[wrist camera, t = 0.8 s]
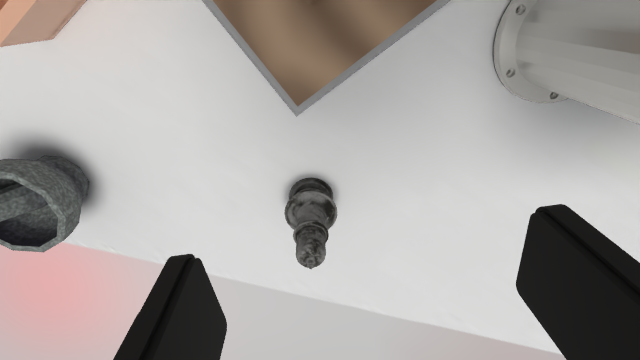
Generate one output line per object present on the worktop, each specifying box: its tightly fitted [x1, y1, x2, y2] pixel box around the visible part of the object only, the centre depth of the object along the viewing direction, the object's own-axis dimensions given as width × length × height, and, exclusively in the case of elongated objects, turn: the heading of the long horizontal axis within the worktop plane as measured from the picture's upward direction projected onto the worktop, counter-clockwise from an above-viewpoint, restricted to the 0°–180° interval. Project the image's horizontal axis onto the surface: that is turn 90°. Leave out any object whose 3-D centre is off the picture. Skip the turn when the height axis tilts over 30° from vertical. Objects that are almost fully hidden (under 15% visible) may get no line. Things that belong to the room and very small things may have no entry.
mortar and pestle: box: [0, 156, 89, 252], centre depth 32 cm, size 11×9×12 cm
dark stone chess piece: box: [285, 178, 337, 269], centre depth 34 cm, size 6×6×12 cm
